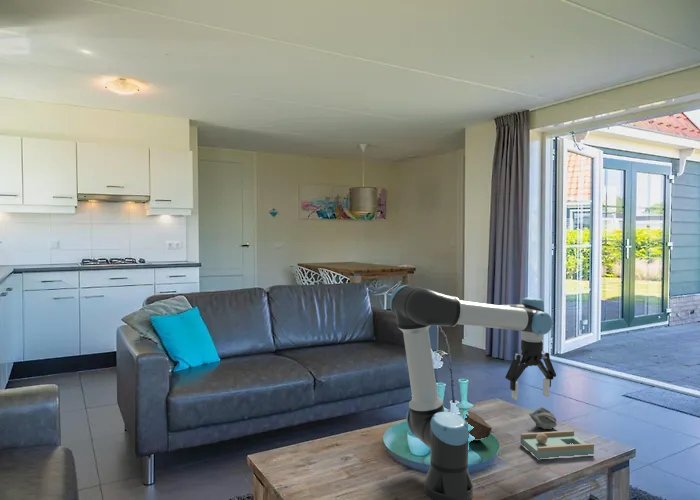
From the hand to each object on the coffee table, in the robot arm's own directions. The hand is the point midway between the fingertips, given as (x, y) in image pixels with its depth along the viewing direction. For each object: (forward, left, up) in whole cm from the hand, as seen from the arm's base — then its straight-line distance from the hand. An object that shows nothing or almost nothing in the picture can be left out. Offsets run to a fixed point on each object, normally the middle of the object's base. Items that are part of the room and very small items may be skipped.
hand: (530, 397), depth 182 cm
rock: (-15, +16, -22) cm, 31 cm away
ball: (+6, +2, -17) cm, 18 cm away
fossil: (+19, +23, -22) cm, 37 cm away
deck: (+12, +2, -22) cm, 25 cm away
